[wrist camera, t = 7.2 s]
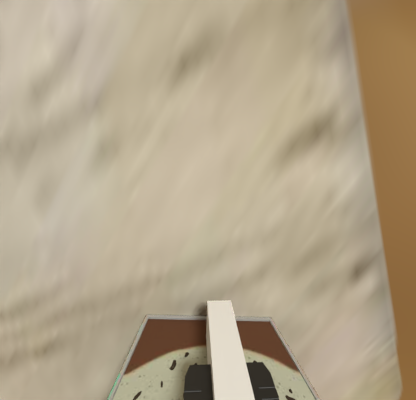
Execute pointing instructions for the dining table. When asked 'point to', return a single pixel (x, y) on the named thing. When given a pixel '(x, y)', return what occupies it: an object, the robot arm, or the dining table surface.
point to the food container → (202, 358)
